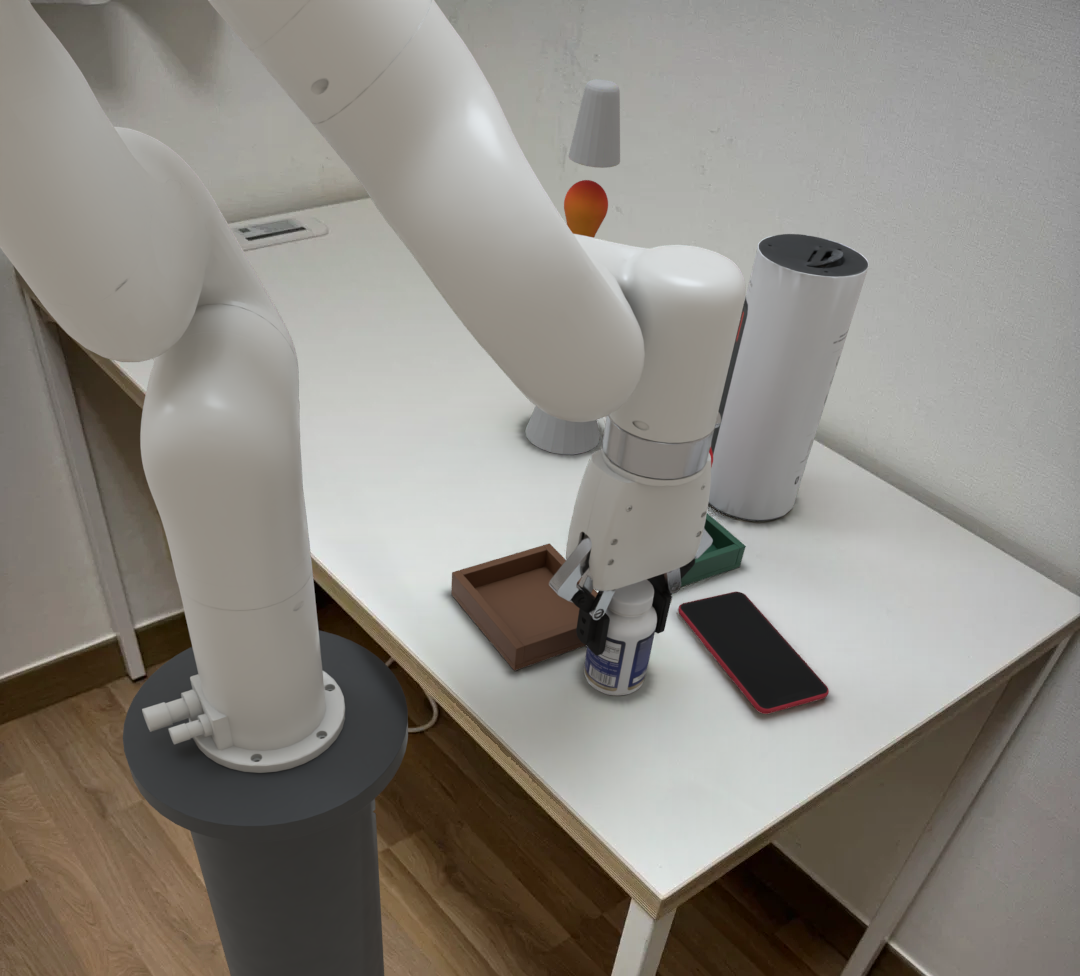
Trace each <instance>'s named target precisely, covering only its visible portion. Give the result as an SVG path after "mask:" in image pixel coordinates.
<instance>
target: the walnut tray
mask: <svg viewBox="0 0 1080 976" xmlns="http://www.w3.org/2000/svg"><path fill="white" fill-rule="evenodd" d="M562 555H563V554H561V553H560V552H559V551H558V550H557V549H556V548H555V547H554V546H553V545H552V544H551V543H545V544H543V545H539V546H536V547H533V548H529V549H526V550H523V551H518V552H516V553H511V554H509V555H506V556H501V557H499V558H495V559H492V560H489V561H486V562H482V563H479V564H475V565H472V566H468V567H465V568H461V569H458V570H455V571H452V572H451V587H450V588H451V592H450V595H451V596H452V597H453V598H454V600H455V601H456V602H457V603H458V605H459V606H460V607H461V608H462V609H463V610H464V612H465V613H466V614H467V615H468V616H469V618H470V619H471V620H472V621H473V623H474V624H475V625H476V627H478V629H479V630H480V631H481V632H482V633H483V635H484V636H485V637H486V639H488V641H489V642H490V643H491V644H492V645H493V647H494V648H495V649H496V650H497V652H498V653H499V654H500V655H501V657H502V658H503V659H504V660H505V661H506V663H507V664H508V665H509V666H510V668H511V669H512V671H518V670H521V669H523V668H527V667H530V666H533V665H534V664H539V663H540V662H543V661H546V660H549V659H552V658H555V657H557V656H561V655H563V654H566V653H569V652H571V651H574V650H575V651H576V650H577V649H580V648H583V647H585V646H586V645H585V644H583V643H582V642H581V641H580V640H579V638H578V637H577V633H576V628H577V621H578V615H579V608H578V607H577V606H576V605H575V604H574V603H572V602H569V601H567V600H566V599H564V598H562V597H560V596H558V595H557V593H556V592H555V591H554V590H553V589H552V588H551V587H550V586H549V581H550V580H551V579H552V577H553V576H554V575H555V574H556V572H557V571H558V570H559V569H560V567H561V566H562V565H563V564H564V562H565V561H566V558H565V557H564V556H562ZM581 578H582V577H581ZM581 578H580V580H579V581H578V582H577V584H578V585H579V583H580V581H581ZM591 594H592V595H593V596H594V597H595V598H596V596H597V594H598V591H597V590H595V589H594V588H593V590H592V593H591ZM586 647H587V646H586Z"/></svg>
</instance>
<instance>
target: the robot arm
mask: <svg viewBox="0 0 1080 976" xmlns="http://www.w3.org/2000/svg"><path fill="white" fill-rule="evenodd" d="M207 1H208V3H209V4H210V5H211V7H213V9H214V10H215V11H216V12H217V13H218V14H219V16H220V17H221V18H222V19H223V20H224V22H225V23H226V24H227V25H228V27H229V28H230V29H231V30H232V31H233V33H234V34H236V36H237V37H238V38H239V39H240V41H242V43H243V44H244V45H245V46H246V48H247V49H248V50H249V51H250V53H252V54H253V56H254V57H255V59H257V60H258V62H259V63H260V64H261V65H262V66H263V68H265V70H266V71H267V72H268V73H269V75H270V76H271V77H272V78H273V79H274V81H275V82H276V83H277V84H278V85H279V87H280V88H281V89H282V90H283V91H284V93H286V95H287V96H288V97H289V99H291V100H292V102H293V103H294V104H295V105H296V107H298V109H299V110H300V111H301V113H303V115H304V116H305V117H306V118H307V119H308V120H309V122H310V123H311V124H312V126H314V127H315V129H316V131H317V132H318V133H319V134H320V135H321V136H322V137H323V138H324V140H325V141H326V142H327V143H328V144H329V146H330V147H331V148H332V149H333V150H334V151H335V153H336V154H337V155H338V156H339V158H340V159H341V160H342V161H343V163H344V164H345V166H347V167H348V169H349V170H350V171H351V173H353V175H354V176H355V178H356V179H357V181H358V182H359V183H360V185H361V186H362V187H363V189H364V190H365V192H366V194H367V195H368V197H369V199H371V201H372V203H373V205H374V206H375V208H376V209H377V211H378V212H379V213H380V215H381V216H382V218H383V219H384V221H385V223H387V225H388V226H389V227H390V228H391V230H392V231H393V232H394V234H395V235H396V236H397V237H398V238H399V239H400V242H402V244H403V245H404V246H405V248H406V249H407V250H408V251H409V253H410V254H411V255H412V257H413V258H414V259H415V261H416V262H417V264H418V265H419V267H420V268H421V269H422V271H423V272H424V274H425V275H426V277H428V279H429V280H430V282H431V283H432V285H433V286H434V288H435V289H436V290H437V291H438V293H439V294H440V296H441V297H442V298H443V300H444V301H445V303H446V304H447V305H448V306H449V307H450V309H451V311H452V312H453V313H454V314H455V316H456V317H457V319H458V320H459V321H460V323H462V325H463V326H464V327H465V329H466V330H467V332H468V333H469V334H470V335H471V336H472V337H473V338H474V340H475V341H476V342H477V343H478V344H479V346H480V347H481V348H482V349H483V350H484V352H485V353H486V354H487V355H488V356H489V357H490V358H491V360H492V361H494V363H495V364H496V365H497V366H498V368H499V369H500V370H501V371H502V372H503V373H504V374H505V376H506V377H507V378H508V379H509V380H510V381H511V382H512V384H513V385H514V386H515V387H516V388H517V389H518V390H519V392H521V393H522V395H523V396H524V397H525V398H526V399H527V400H528V401H529V402H530V403H531V404H533V405H534V407H535V406H536V407H538V408H539V409H541V410H542V411H544V412H545V413H547V414H549V415H551V416H553V417H556V418H558V419H561V420H566V421H570V422H588V421H594V420H597V421H598V420H600V419H603V418H605V424H604V430H603V437H602V443H601V448H600V449H598V450H596V451H593V452H591V456H590V458H589V460H588V463H587V465H586V467H585V469H584V472H583V475H582V477H581V481H580V484H579V487H578V490H577V494H576V498H575V501H574V505H573V509H572V515H571V520H570V525H569V528H568V533H567V534H568V535H567V541H566V546H565V549H566V550H565V560H566V561H565V562H564V564H563V565H562V566H561V567H560V569H559V570H558V571H557V572H556V574H555V575H554V576H553V577H552V579H551V580H550V581H549V586H550V587H551V588H552V589H553V590H554V591H555V592H556V593H557V595H558V596H560V597H562V598H564V599H566V600H567V601H569V602H572V603H574V604H575V605H576V606H577V607H578V608H579V615H578V621H577V628H576V633H577V637H578V638H579V640H580V641H581V642H582V643H583V644H585V645H586V648H587V647H588V648H589V649H590V650H591V651H592V652H593V653H594V654H595V655H596V656H598V655H601V654H603V652H604V650H605V645H606V639H607V633H608V628H609V622H610V618H609V616H608V615H607V614H606V613H605V612H606V610H607V608H608V606H609V604H610V601H611V599H612V597H613V595H614V593H615V591H616V589H618V588H621V587H624V586H627V585H631V584H634V583H637V582H640V581H643V580H646V579H647V580H648V581H649V582H650V583H651V584H652V586H653V588H654V597H653V603H652V606H653V607H654V609H655V611H656V614H657V624H656V630H655V634H661V633H663V632H664V631H665V628H666V625H667V620H668V617H669V616H668V615H669V611H670V607H671V603H672V599H673V594H676V593H678V592H679V590H680V589H681V588H682V587H681V579H682V578H683V577H684V576H685V575H686V573H687V572H688V571H689V570H690V569H691V568H692V567H693V566H694V564H695V559H696V558H697V559H698V558H699V557H700V556H701V555H702V554H703V553H704V552H705V551H706V550H707V549H708V548H709V547H710V546H711V544H712V542H713V539H712V538H711V536H710V535H709V534H708V532H707V531H706V530H705V529H704V525H705V521H706V515H707V513H708V508H709V495H710V484H711V456H710V454H709V450H710V446H711V442H712V437H713V433H714V429H715V428H717V427H719V426H720V424H721V416H720V413H719V412H718V411H719V406H720V402H721V398H722V394H723V390H724V385H725V381H726V377H727V373H728V368H729V364H730V360H731V356H732V352H733V347H734V343H735V339H736V335H737V330H738V326H739V322H740V318H741V314H742V309H743V305H744V301H745V296H746V293H747V289H746V288H747V285H746V280H745V276H744V273H743V272H742V270H741V268H740V267H739V266H738V265H737V264H736V263H735V262H734V260H732V259H731V258H729V257H728V256H726V255H724V254H721V253H719V252H718V251H715V250H712V249H709V248H705V247H701V246H697V245H690V244H665V245H658V246H654V247H649V248H648V247H642V246H637V245H631V244H626V243H620V242H615V241H614V242H613V241H610V240H606V239H603V238H602V239H601V238H597V237H594V238H593V237H588V236H583V235H578V234H573V233H572V232H571V230H570V229H569V227H568V226H567V222H566V220H564V218H563V216H562V215H561V213H560V211H559V210H558V209H557V207H556V206H555V203H553V201H552V198H550V196H549V194H548V193H547V191H546V190H545V188H544V186H543V184H542V183H541V181H540V180H539V178H538V176H537V175H536V173H535V171H534V170H533V168H532V166H531V164H530V162H529V161H528V159H527V157H526V155H525V153H524V151H523V150H522V148H521V146H520V144H519V142H518V140H517V138H516V136H515V134H514V132H513V130H512V127H511V125H510V123H509V121H508V119H507V117H506V114H505V113H504V110H503V108H502V106H501V104H500V102H499V99H498V97H497V96H496V94H495V92H494V90H493V88H492V86H491V85H490V82H489V81H488V79H487V78H486V77H487V76H485V74H484V72H483V71H482V69H481V67H480V65H479V63H478V62H477V60H476V59H475V57H474V56H473V54H472V52H471V51H470V49H469V48H468V46H467V44H466V43H465V41H464V40H463V39H462V37H461V36H460V35H459V33H458V32H457V30H456V29H455V28H454V26H453V25H452V24H451V22H450V20H449V19H448V18H447V16H446V15H445V14H444V12H443V11H442V9H441V7H440V6H439V5H438V3H437V2H436V0H207ZM31 3H32V2H30V0H0V250H1V251H2V252H3V253H4V255H5V256H6V257H7V259H8V260H9V262H10V263H11V264H12V266H13V267H14V268H15V270H16V271H17V273H18V274H19V275H20V276H21V277H22V279H23V280H24V281H25V283H26V284H27V286H28V287H29V288H30V290H31V291H32V292H33V294H34V295H35V297H36V298H37V299H38V301H39V302H40V303H41V305H42V306H43V307H44V308H45V310H46V311H47V312H48V314H49V315H50V316H51V317H52V319H54V321H55V322H56V324H58V325H59V327H61V329H62V330H63V331H64V332H65V333H66V334H67V335H68V336H69V337H71V338H72V339H73V340H75V341H76V342H77V343H78V344H80V345H81V346H82V347H83V348H85V349H86V350H88V351H89V352H92V353H95V354H96V355H98V356H100V357H102V358H104V359H109V360H112V361H116V362H120V363H141V362H142V363H143V362H146V361H150V360H153V364H152V368H151V371H150V374H149V378H148V382H147V386H146V391H145V394H144V395H145V396H144V400H143V406H142V412H141V420H140V433H139V435H140V436H139V442H140V447H139V448H140V457H141V462H142V468H143V471H144V472H143V473H144V475H145V479H146V482H147V485H148V488H149V491H150V493H151V497H152V499H153V502H154V504H155V507H156V510H157V512H158V515H159V517H160V520H161V523H162V527H163V531H164V533H165V536H166V537H165V538H166V541H167V544H168V549H169V553H170V557H171V561H172V566H173V571H174V575H175V578H176V579H175V580H176V582H177V585H178V589H179V594H180V598H181V603H182V607H183V611H184V616H185V620H186V624H187V630H188V635H189V640H190V643H191V647H192V648H193V652H194V656H195V661H196V665H197V670H198V674H197V675H194V676H191V677H190V680H191V685H192V689H193V690H189V691H186V692H183V693H181V697H182V698H180V699H177V700H174V701H171V702H168V703H165V702H163V703H160V704H157V705H153V706H150V707H147V708H144V709H142V712H143V715H144V718H145V721H146V724H147V726H148V728H149V730H150V732H152V731H155V730H158V729H161V728H164V727H167V726H170V725H173V723H175V722H178V721H181V720H184V719H187V718H189V723H186V724H185V723H183V724H180V725H177V726H174V727H171V728H168V730H169V733H170V736H171V739H172V741H173V743H174V744H177V743H180V742H183V741H186V740H189V739H190V738H193V739H194V741H195V743H196V745H197V746H198V748H199V749H200V750H201V751H202V752H203V753H204V754H205V755H206V756H207V757H208V758H210V759H212V760H213V761H215V762H216V763H218V764H220V765H223V766H225V767H228V768H230V769H234V770H239V771H243V772H254V773H266V772H277V771H282V770H286V769H291V768H294V767H296V766H299V765H302V764H305V763H307V762H308V761H310V760H312V759H314V758H316V757H318V756H319V755H320V754H321V753H323V752H324V751H325V750H327V749H328V748H329V747H330V746H331V745H332V743H333V742H334V741H335V740H336V739H337V737H338V735H339V734H340V732H341V730H342V728H343V724H344V721H345V703H344V696H343V694H342V691H341V689H340V687H339V686H338V684H337V683H336V682H335V680H334V679H333V678H332V677H331V676H329V675H328V674H327V673H326V672H324V671H323V670H322V661H321V651H320V641H319V631H320V630H319V621H318V613H317V603H316V593H315V583H314V582H315V581H314V574H313V573H314V571H313V563H312V561H313V560H312V554H311V553H312V552H311V543H310V535H309V527H308V516H307V509H306V508H307V507H306V500H305V499H306V498H305V490H304V482H303V481H304V479H303V464H302V463H303V461H302V446H301V402H300V371H299V361H298V354H297V350H296V346H295V344H294V341H293V338H292V336H291V333H290V331H289V329H288V328H287V325H286V323H285V321H284V319H283V318H282V316H281V314H280V312H279V310H278V308H277V307H276V304H275V303H274V301H273V300H272V298H271V296H270V294H269V293H268V291H267V289H266V288H265V286H264V283H263V282H262V280H261V278H260V277H259V275H258V273H257V272H256V270H255V268H254V267H253V264H252V263H251V260H250V259H249V257H248V256H247V254H246V252H245V251H244V249H243V248H242V247H243V246H241V244H240V242H239V240H238V239H237V237H236V235H235V234H234V232H233V230H232V227H230V225H229V222H227V219H226V218H225V216H224V215H223V212H222V210H221V209H220V207H219V206H218V204H217V202H216V201H215V199H214V197H213V196H212V194H211V192H210V191H209V189H208V188H207V186H206V185H205V184H204V182H203V180H202V179H201V178H200V176H199V175H198V174H197V173H196V171H194V169H193V168H192V167H191V166H190V165H189V164H188V163H187V162H186V160H185V159H183V157H182V156H181V155H179V154H178V153H177V151H175V150H173V148H171V147H170V146H168V145H167V144H165V143H164V142H162V141H160V140H159V139H157V138H156V137H154V136H151V135H150V134H149V133H145V132H142V131H140V130H136V129H134V128H130V127H124V126H114V125H113V123H112V122H111V120H110V118H109V117H108V115H107V114H106V112H105V111H104V109H103V107H102V106H101V104H100V103H99V101H98V99H97V97H96V95H95V93H94V91H93V90H92V88H91V86H90V84H89V83H88V81H87V79H86V77H85V76H84V74H83V72H82V70H81V69H80V68H79V66H78V65H77V63H76V62H75V60H74V59H73V58H72V56H71V54H70V53H69V52H68V50H67V49H66V47H65V46H64V45H63V43H62V42H61V41H60V40H59V38H58V37H57V35H55V33H54V32H53V31H52V30H51V28H50V27H49V26H48V25H47V23H46V22H45V21H44V19H43V18H42V17H41V16H40V15H39V13H38V12H37V11H36V9H35V8H34V6H33V5H32V4H31ZM581 577H582V578H581ZM580 578H581V581H580V583H579V585H578V584H577V582H578V581H579V580H580ZM593 588H594V589H595V590H596V591H597V593H598V594H597V596H596V598H595V597H594V596H593V595H592V594H591V593H592V590H593ZM318 630H319V631H318Z"/></svg>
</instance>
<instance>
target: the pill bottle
mask: <svg viewBox="0 0 1080 976" xmlns="http://www.w3.org/2000/svg"><path fill="white" fill-rule="evenodd" d="M653 597H654V588H653V586H652V584H651V583H650V582H649V581H648V580H647V579H646V580H643V581H640V582H637V583H634V584H631V585H627V586H624V587H621V588H618V589H616V591H615V593H614V595H613V597H612V599H611V601H610V604H609V606H608V608H607V610H606V612H605V613H606V614H607V615H608V616H609V618H610V622H609V628H608V633H607V639H606V645H605V650H604V652H603V654H601V655H598V656H596V655H595V654H594V653H593V652H592V651H591V650H590V649H589V648H588V647H587V646H586V652H585V660H584V665H583V674H584V677H585V679H586V681H587V683H588V684H589V685H590V686H591V687H592V688H593V689H595V690H596V691H598V692H600V693H602V694H604V695H609V696H625V695H629V694H633V693H634V692H637V691H638V690H639V689H640V688H641V687H642V686H643V684H644V682H645V680H646V676H647V672H648V667H649V663H650V657H651V653H652V648H653V643H654V638H655V635H656V633H655V630H656V624H657V614H656V611H655V609H654V607H653V606H652V603H653Z"/></svg>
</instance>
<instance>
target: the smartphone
mask: <svg viewBox="0 0 1080 976" xmlns="http://www.w3.org/2000/svg"><path fill="white" fill-rule="evenodd" d="M677 611H678V614H679V616H680V617H681V618H682V619H683V621H684V622H685V623H686V624H687V626H688V627H689V628H690V630H691V631H692V632H693V633H694V635H696V637H697V638H698V639H699V640H700V642H701V643H702V644H703V646H704V647H705V648H706V649H707V651H708V652H709V654H711V656H712V657H713V658H714V659H715V660H716V662H717V663H718V664H719V666H720V667H721V668H722V669H723V670H724V672H725V673H726V675H728V677H729V678H730V680H731V681H732V682H733V683H734V684H735V685H736V687H737V688H738V689H739V690H740V692H741V693H742V694H743V695H744V697H745V698H746V699H747V701H748V702H749V703H750V704H751V705H752V706H753V708H754V709H755V710H756V711H757V712H758V713H760V714H763V715H769V714H773V713H776V712H781V711H784V710H788V709H791V708H795V707H799V706H801V705H805V704H809V703H812V702H816V701H819V700H823V699H825V698H826V697H827V696H829V692H830V690H829V688H828V686H827V685H826V683H825V682H824V681H823V680H822V679H821V678H820V677H819V676H818V675H817V673H816V672H815V671H814V670H813V669H812V667H810V665H808V663H807V662H806V661H805V659H804V658H802V657H801V655H800V654H799V653H798V652H797V651H796V650H795V649H794V648H793V646H792V645H791V644H790V643H789V642H788V641H787V639H786V638H784V636H783V635H782V634H781V633H780V632H779V631H778V630H777V629H776V627H775V626H774V625H773V624H772V622H770V621H769V619H768V618H767V617H766V616H765V615H764V614H763V613H762V611H761V610H760V609H759V608H758V607H757V606H756V605H755V603H753V601H751V599H750V598H749V596H747V594H745V593H743V592H741V591H731V592H726V593H723V594H717V595H713V596H708V597H705V598H701V599H696V600H695V599H694V600H692V601H691V600H690V601H687V602H683V603H681V604H679V606H678V608H677Z"/></svg>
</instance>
